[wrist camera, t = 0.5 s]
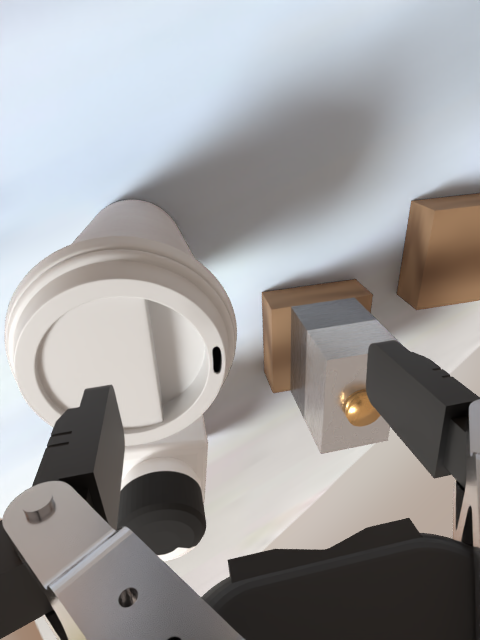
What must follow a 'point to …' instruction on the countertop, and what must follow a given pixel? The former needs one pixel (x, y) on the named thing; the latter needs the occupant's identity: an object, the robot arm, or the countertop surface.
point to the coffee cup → (123, 324)
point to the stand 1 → (279, 322)
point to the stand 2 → (441, 252)
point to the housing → (335, 372)
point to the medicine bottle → (166, 491)
